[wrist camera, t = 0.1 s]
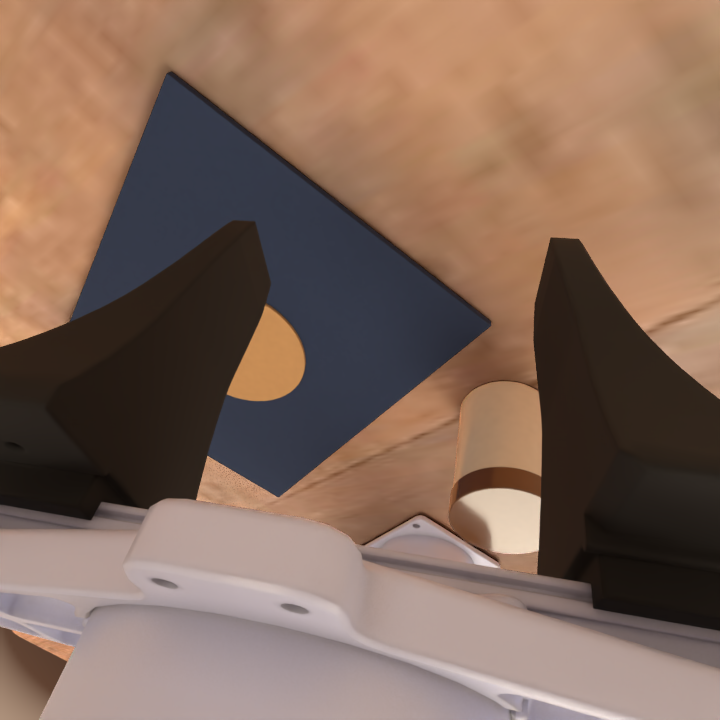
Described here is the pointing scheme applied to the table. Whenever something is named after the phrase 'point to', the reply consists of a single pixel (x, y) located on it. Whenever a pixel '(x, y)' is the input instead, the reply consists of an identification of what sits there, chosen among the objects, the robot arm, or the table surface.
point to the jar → (498, 469)
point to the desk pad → (280, 289)
